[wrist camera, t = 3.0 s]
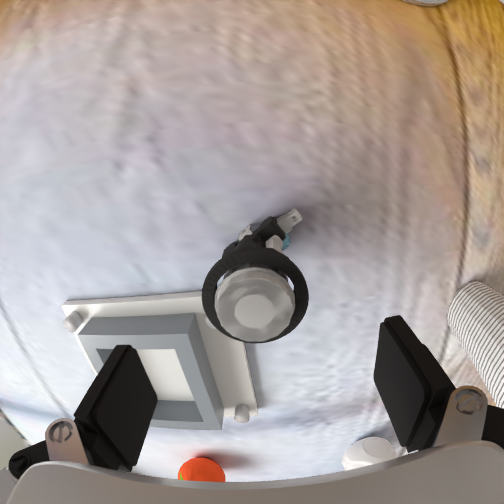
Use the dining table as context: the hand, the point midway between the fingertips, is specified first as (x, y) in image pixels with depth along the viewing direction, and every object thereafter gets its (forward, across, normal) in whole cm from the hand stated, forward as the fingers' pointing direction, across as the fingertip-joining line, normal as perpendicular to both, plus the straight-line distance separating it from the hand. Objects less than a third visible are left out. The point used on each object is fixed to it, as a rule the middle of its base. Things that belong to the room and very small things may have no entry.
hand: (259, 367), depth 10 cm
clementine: (+15, +12, +32) cm, 37 cm away
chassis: (+14, +11, +11) cm, 21 cm away
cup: (+14, -22, +9) cm, 27 cm away
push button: (+14, -1, -1) cm, 14 cm away
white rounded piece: (+14, -12, +31) cm, 36 cm away
